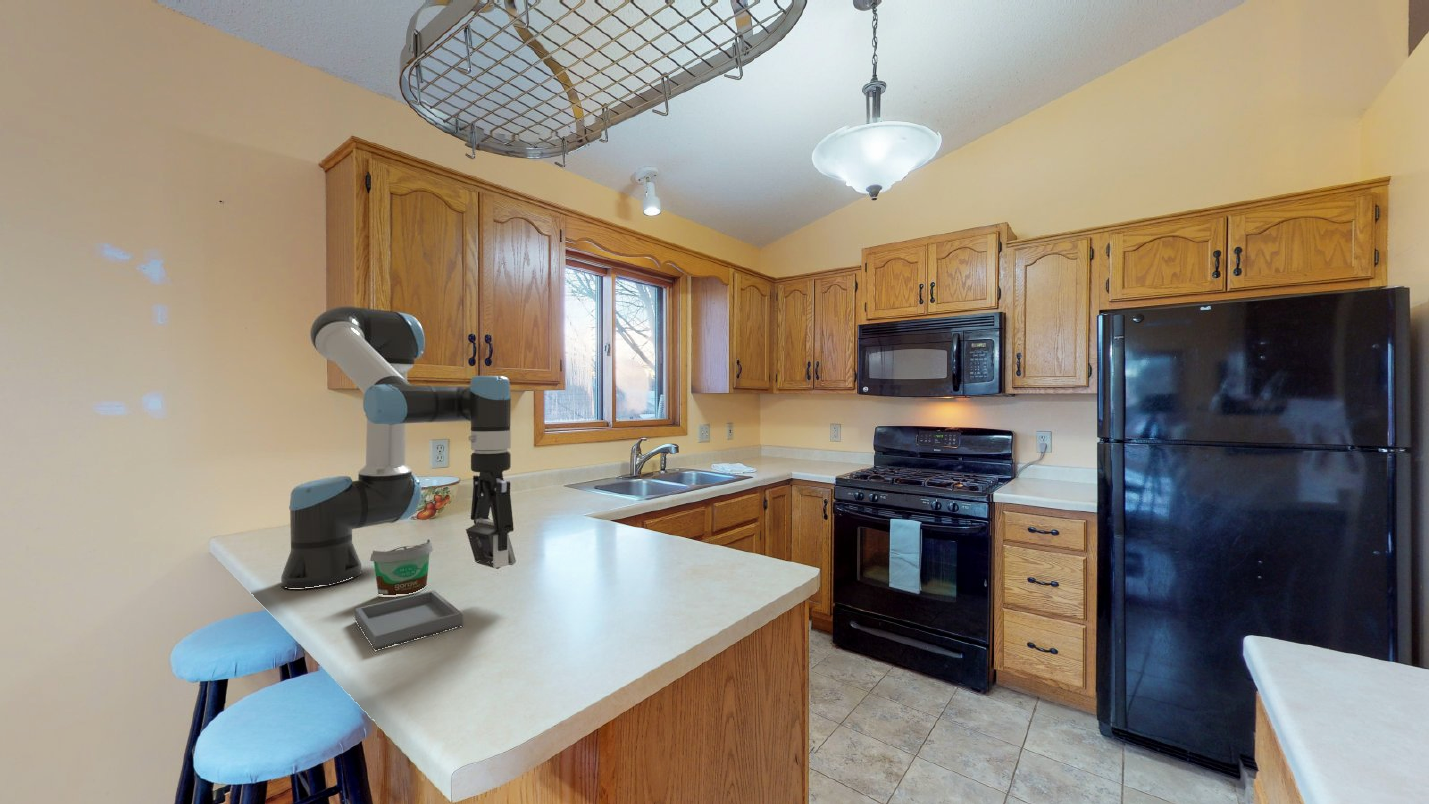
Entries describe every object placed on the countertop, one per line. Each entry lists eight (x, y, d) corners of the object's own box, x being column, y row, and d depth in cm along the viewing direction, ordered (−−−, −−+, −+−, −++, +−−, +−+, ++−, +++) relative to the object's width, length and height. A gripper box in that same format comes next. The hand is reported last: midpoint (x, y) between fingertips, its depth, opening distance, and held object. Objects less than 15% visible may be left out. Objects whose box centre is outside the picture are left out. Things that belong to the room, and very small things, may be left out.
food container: (382, 604, 108) (382, 555, 108) (370, 598, 112) (369, 550, 112) (443, 587, 118) (443, 542, 118) (430, 582, 122) (430, 538, 122)
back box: (355, 621, 99) (355, 608, 99) (434, 602, 109) (434, 590, 109) (375, 651, 87) (374, 636, 87) (462, 626, 96) (462, 613, 96)
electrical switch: (517, 565, 108) (513, 520, 107) (494, 574, 104) (490, 528, 103) (489, 557, 113) (485, 515, 113) (467, 566, 109) (462, 522, 108)
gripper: (453, 448, 114) (454, 552, 114) (492, 457, 98) (493, 578, 98) (489, 446, 119) (489, 546, 119) (531, 454, 103) (532, 569, 103)
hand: (491, 560), depth 109 cm, fingers closed on electrical switch, 9 cm apart
